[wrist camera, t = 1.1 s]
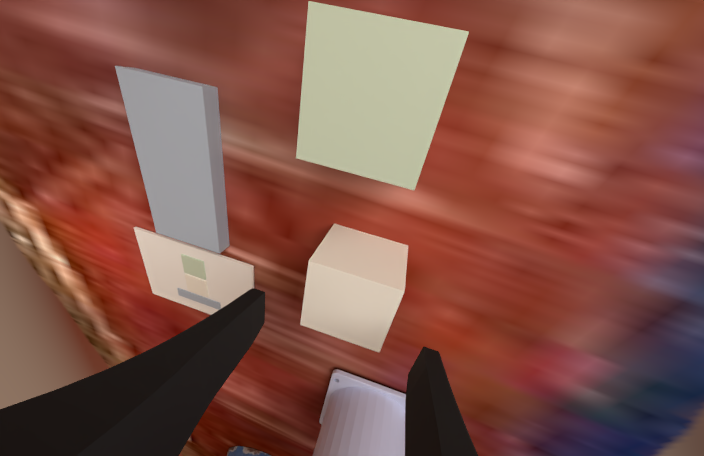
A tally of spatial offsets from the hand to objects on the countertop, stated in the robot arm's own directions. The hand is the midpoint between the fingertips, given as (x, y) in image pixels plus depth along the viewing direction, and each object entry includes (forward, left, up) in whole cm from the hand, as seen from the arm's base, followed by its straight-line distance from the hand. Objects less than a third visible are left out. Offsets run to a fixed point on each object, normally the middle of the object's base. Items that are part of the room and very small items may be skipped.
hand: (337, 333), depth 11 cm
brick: (0, 0, -6) cm, 6 cm away
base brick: (+3, +12, -6) cm, 14 cm away
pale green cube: (+9, +1, -6) cm, 11 cm away
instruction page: (-7, +12, -5) cm, 15 cm away
